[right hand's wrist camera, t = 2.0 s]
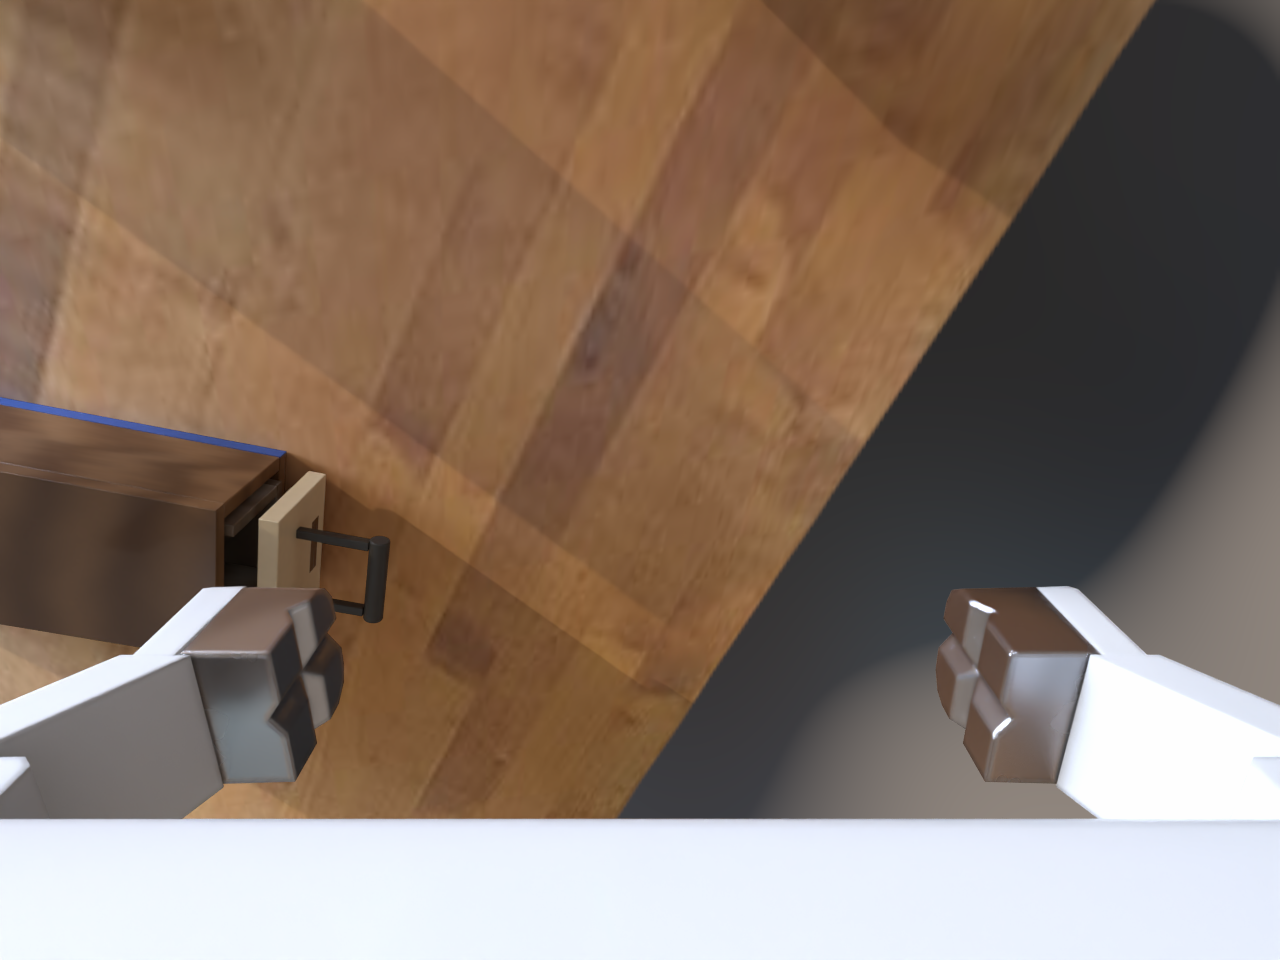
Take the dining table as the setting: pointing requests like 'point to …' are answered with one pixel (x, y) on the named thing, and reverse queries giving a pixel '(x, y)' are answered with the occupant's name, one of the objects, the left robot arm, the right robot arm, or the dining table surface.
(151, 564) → the brown storage bin
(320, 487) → the drawer
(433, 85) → the dining table surface
